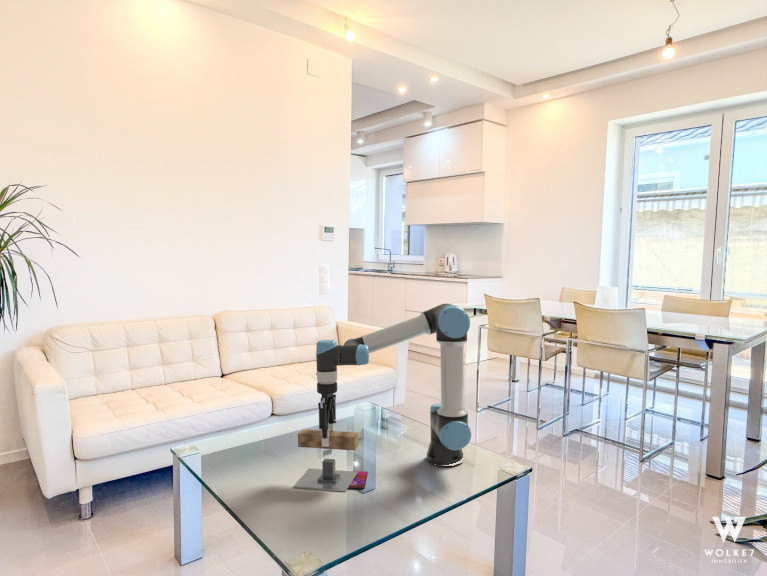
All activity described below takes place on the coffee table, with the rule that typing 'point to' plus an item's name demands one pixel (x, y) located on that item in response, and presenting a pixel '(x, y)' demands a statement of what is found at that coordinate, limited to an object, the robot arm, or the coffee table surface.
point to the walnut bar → (335, 439)
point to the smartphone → (358, 481)
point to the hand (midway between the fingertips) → (328, 443)
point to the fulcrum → (326, 478)
